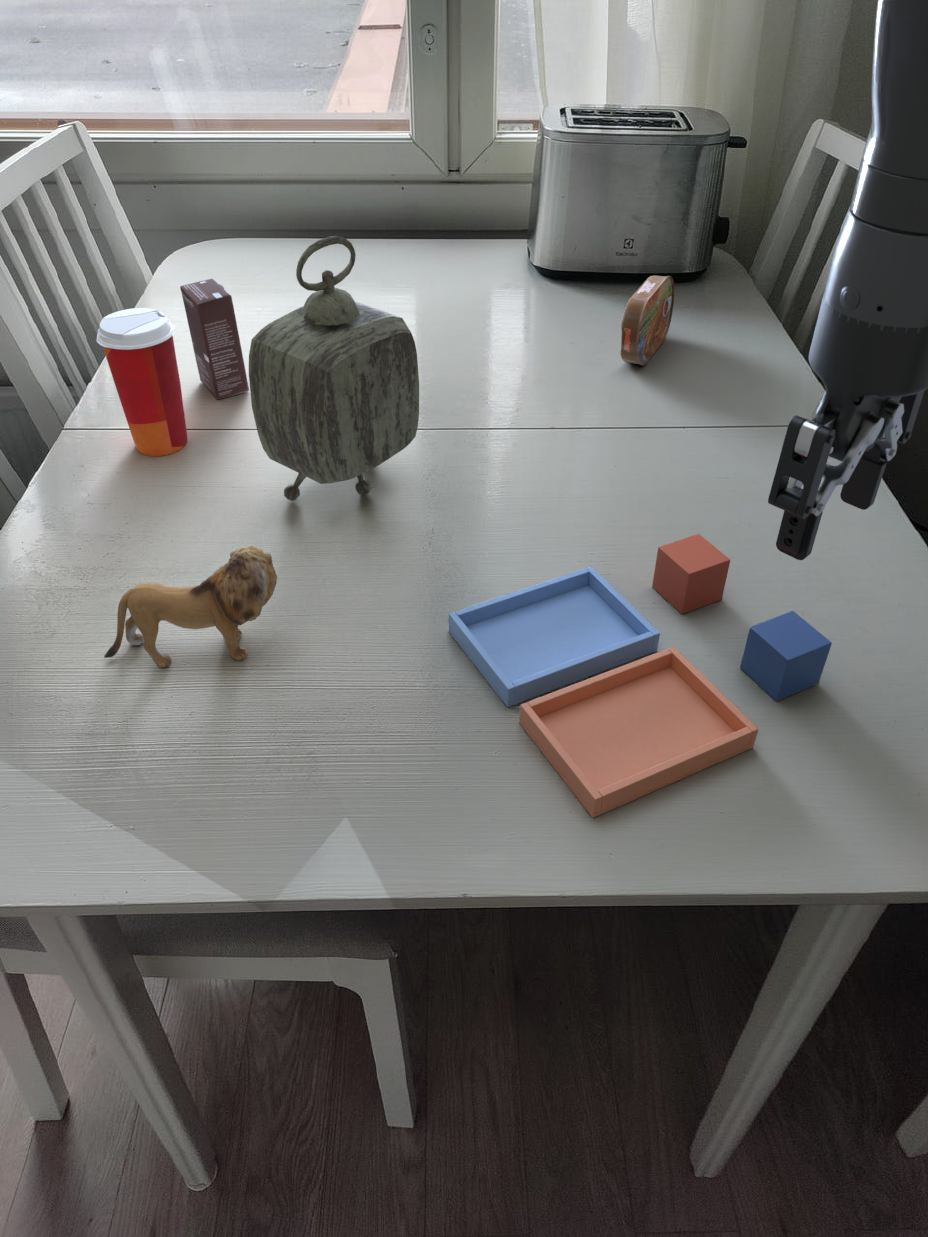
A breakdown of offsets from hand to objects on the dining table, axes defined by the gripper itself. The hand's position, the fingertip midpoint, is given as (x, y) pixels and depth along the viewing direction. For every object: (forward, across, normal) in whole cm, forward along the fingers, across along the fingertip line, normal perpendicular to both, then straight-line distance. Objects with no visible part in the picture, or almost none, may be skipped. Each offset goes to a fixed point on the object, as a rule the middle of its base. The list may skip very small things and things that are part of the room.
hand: (824, 527), depth 66 cm
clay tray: (+15, -12, +5) cm, 20 cm away
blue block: (+15, +1, +1) cm, 15 cm away
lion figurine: (+16, -29, +36) cm, 49 cm away
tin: (+16, +42, +46) cm, 64 cm away
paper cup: (+16, -14, +68) cm, 72 cm away
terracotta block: (+15, +5, +12) cm, 20 cm away
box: (+16, -2, +75) cm, 77 cm away
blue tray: (+15, -8, +16) cm, 24 cm away
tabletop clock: (+16, -5, +47) cm, 50 cm away
